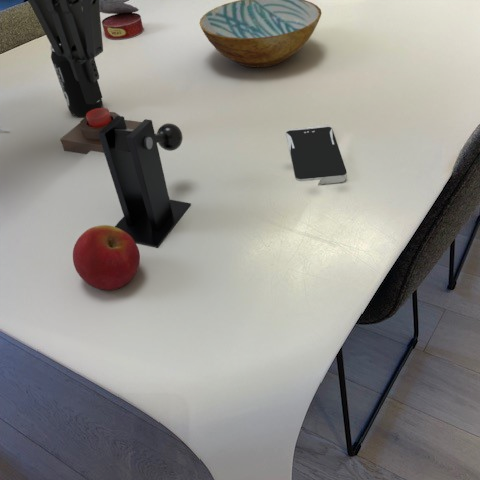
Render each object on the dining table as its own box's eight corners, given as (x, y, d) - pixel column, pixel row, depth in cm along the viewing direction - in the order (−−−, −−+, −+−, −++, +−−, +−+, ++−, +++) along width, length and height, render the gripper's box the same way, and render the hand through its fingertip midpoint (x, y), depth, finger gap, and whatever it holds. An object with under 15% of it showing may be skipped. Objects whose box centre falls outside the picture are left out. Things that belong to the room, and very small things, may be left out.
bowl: (186, 78, 103) (180, 36, 97) (227, 34, 119) (223, -5, 113) (304, 85, 96) (304, 40, 90) (330, 37, 112) (333, -4, 106)
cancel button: (84, 127, 84) (81, 117, 83) (97, 116, 87) (94, 106, 85) (103, 129, 83) (100, 119, 82) (116, 118, 85) (113, 108, 84)
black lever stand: (144, 201, 74) (118, 104, 63) (192, 210, 72) (173, 110, 61) (109, 242, 68) (73, 142, 57) (159, 253, 66) (132, 151, 55)
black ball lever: (164, 148, 72) (165, 121, 70) (186, 151, 71) (187, 124, 69) (109, 154, 60) (109, 123, 59) (134, 158, 59) (134, 126, 58)
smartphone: (295, 179, 73) (285, 129, 82) (295, 187, 74) (285, 137, 83) (347, 174, 72) (331, 125, 82) (347, 182, 73) (330, 132, 83)
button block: (64, 150, 87) (56, 129, 84) (92, 126, 92) (86, 105, 89) (121, 160, 83) (115, 137, 80) (148, 134, 88) (142, 112, 85)
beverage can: (93, 119, 94) (72, 52, 85) (64, 117, 96) (40, 51, 87) (109, 103, 98) (91, 38, 89) (81, 101, 100) (60, 37, 91)
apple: (102, 313, 59) (80, 263, 53) (75, 278, 64) (53, 229, 58) (156, 284, 62) (142, 234, 56) (127, 253, 66) (111, 203, 60)
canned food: (109, 54, 129) (86, 14, 124) (139, 38, 132) (118, -2, 127) (122, 41, 119) (98, -3, 115) (155, 24, 122) (133, -19, 118)
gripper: (96, -87, 65) (139, 94, 82) (18, -84, 69) (75, 87, 86) (62, -74, 60) (115, 114, 78) (-19, -71, 64) (49, 107, 82)
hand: (94, 100), depth 82 cm, fingers closed
